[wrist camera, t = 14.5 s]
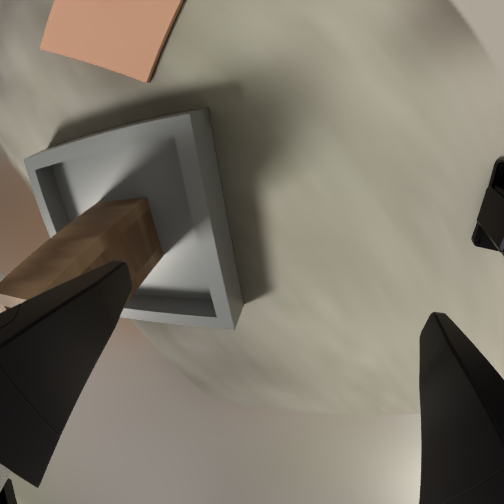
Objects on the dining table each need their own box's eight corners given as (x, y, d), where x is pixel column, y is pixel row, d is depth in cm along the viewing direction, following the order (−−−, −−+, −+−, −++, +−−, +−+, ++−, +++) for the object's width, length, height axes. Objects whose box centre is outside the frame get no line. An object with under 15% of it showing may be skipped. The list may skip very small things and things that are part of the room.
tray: (208, 107, 18) (189, 113, 16) (243, 304, 27) (234, 329, 24) (47, 148, 23) (23, 159, 20) (99, 293, 31) (84, 311, 28)
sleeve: (146, 197, 22) (33, 301, 12) (163, 255, 24) (77, 371, 14) (82, 204, 24) (-21, 288, 14) (100, 254, 26) (15, 347, 16)
